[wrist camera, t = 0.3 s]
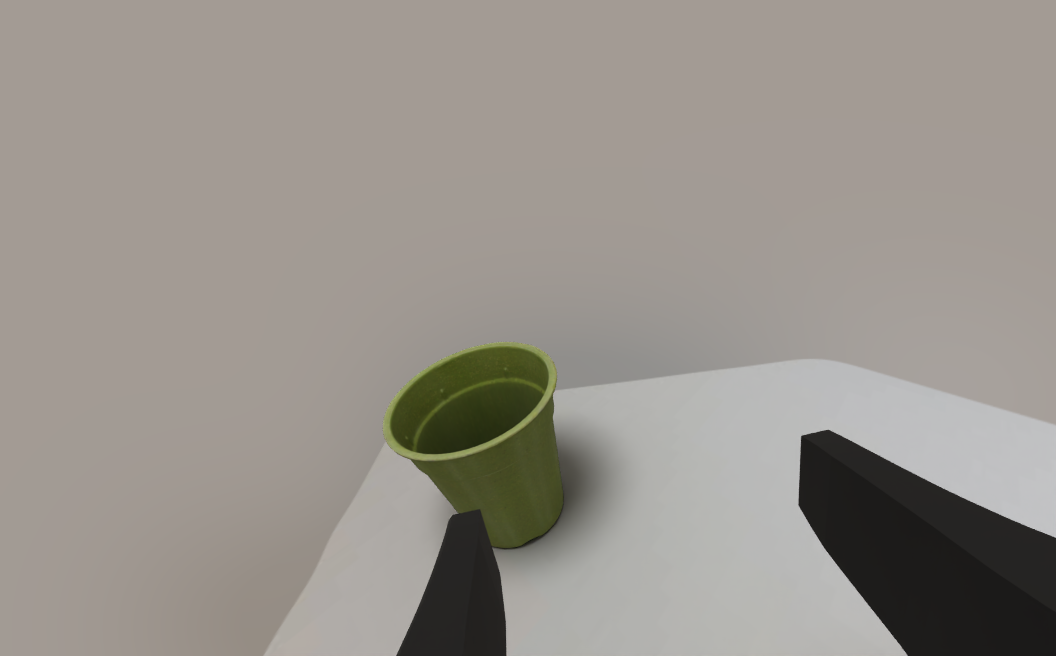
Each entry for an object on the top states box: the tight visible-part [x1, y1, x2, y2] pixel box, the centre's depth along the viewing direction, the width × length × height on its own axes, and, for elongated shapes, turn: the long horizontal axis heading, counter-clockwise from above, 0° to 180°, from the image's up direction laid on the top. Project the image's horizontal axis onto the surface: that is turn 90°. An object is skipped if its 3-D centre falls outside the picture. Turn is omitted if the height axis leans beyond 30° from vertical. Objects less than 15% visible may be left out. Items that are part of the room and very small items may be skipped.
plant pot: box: [383, 342, 563, 548], centre depth 38 cm, size 12×12×11 cm
